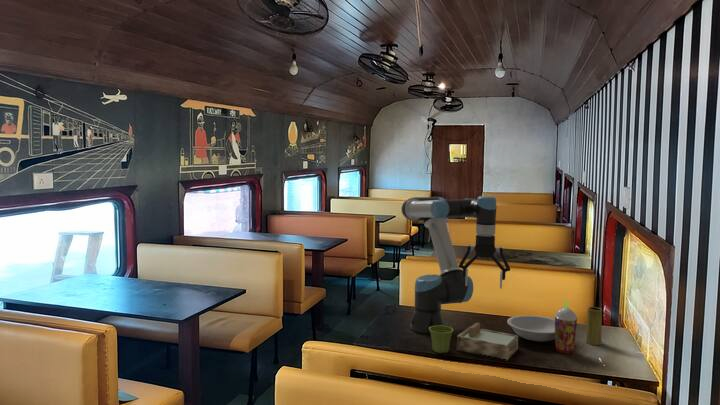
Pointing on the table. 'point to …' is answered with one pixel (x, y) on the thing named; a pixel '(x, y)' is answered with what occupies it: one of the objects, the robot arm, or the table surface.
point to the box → (486, 345)
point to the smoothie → (565, 330)
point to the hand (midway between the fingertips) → (483, 286)
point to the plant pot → (440, 338)
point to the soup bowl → (533, 327)
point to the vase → (594, 326)
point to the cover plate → (488, 335)
